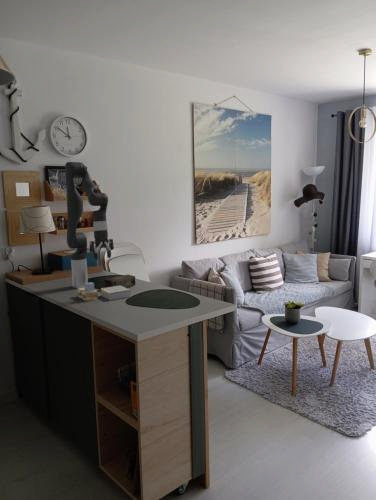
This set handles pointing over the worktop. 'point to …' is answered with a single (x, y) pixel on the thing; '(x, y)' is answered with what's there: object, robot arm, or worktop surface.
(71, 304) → the worktop surface
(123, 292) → the dock
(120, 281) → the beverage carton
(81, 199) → the robot arm
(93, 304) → the worktop surface
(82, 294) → the tan rectangular block
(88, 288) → the pale blue cube
